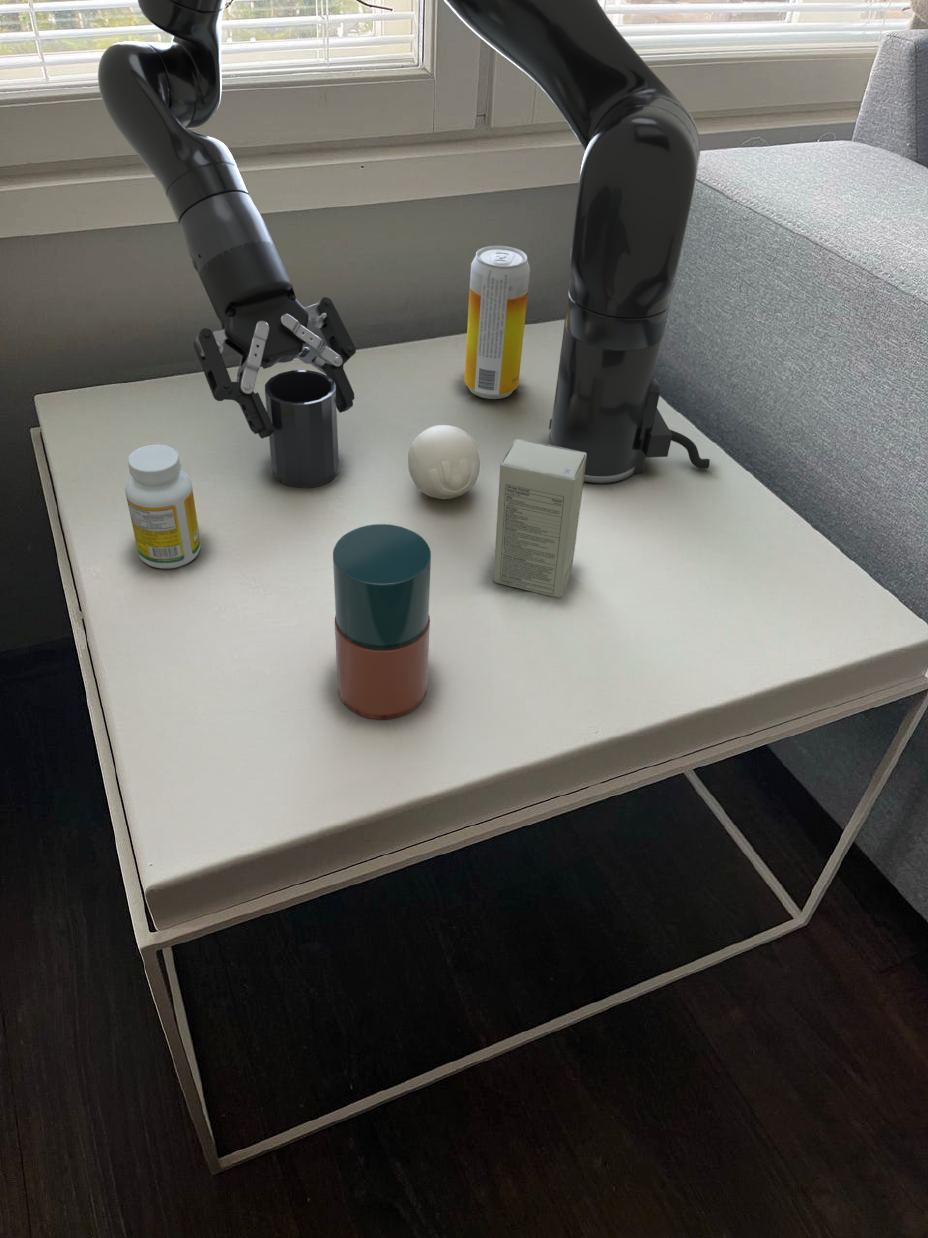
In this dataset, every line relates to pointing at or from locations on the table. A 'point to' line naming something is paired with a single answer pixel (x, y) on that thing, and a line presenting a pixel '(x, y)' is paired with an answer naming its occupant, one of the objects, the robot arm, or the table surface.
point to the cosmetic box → (538, 516)
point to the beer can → (496, 321)
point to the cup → (303, 427)
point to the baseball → (444, 462)
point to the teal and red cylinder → (382, 619)
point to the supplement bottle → (162, 507)
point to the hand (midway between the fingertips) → (308, 421)
